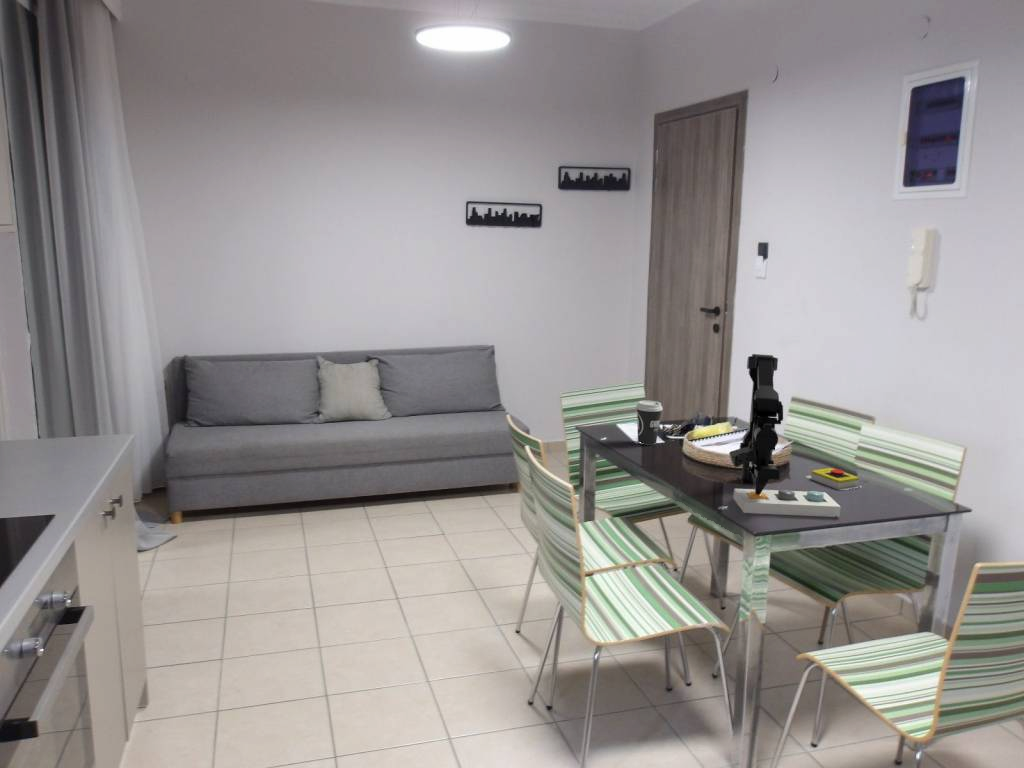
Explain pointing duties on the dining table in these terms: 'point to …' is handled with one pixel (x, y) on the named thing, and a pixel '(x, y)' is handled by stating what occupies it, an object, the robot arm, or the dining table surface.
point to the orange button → (757, 495)
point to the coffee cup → (648, 421)
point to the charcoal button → (786, 495)
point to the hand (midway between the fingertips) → (757, 494)
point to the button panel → (786, 504)
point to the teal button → (815, 496)
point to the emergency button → (834, 478)
